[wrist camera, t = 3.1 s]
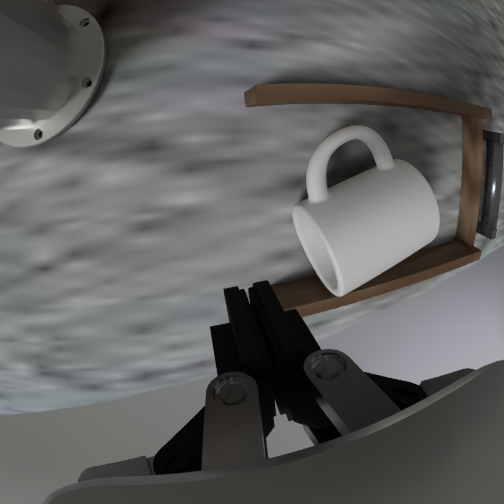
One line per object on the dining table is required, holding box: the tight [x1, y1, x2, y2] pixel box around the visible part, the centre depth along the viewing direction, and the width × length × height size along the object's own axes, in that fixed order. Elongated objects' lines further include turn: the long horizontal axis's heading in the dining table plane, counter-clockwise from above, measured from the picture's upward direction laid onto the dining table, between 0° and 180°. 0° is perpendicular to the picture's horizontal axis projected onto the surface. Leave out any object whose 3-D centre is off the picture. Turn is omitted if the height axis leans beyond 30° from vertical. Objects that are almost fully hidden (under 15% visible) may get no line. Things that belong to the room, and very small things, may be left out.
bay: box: [244, 83, 504, 317], centre depth 24 cm, size 18×30×4 cm, turn 96°
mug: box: [292, 125, 440, 297], centre depth 22 cm, size 12×10×8 cm
